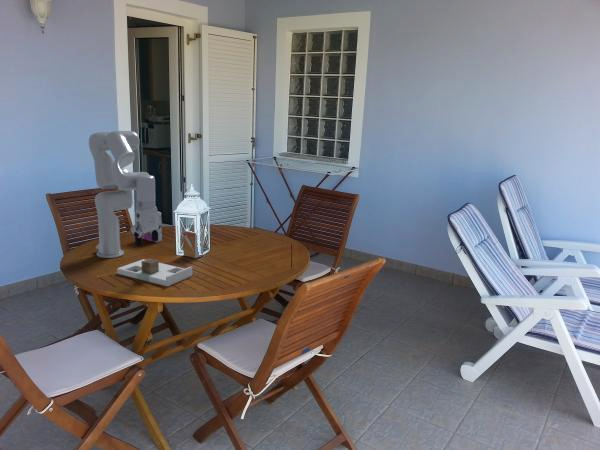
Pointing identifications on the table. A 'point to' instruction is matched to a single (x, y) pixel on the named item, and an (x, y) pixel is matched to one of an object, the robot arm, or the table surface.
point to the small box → (191, 244)
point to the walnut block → (150, 266)
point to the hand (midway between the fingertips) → (147, 243)
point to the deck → (163, 276)
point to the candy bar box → (149, 234)
